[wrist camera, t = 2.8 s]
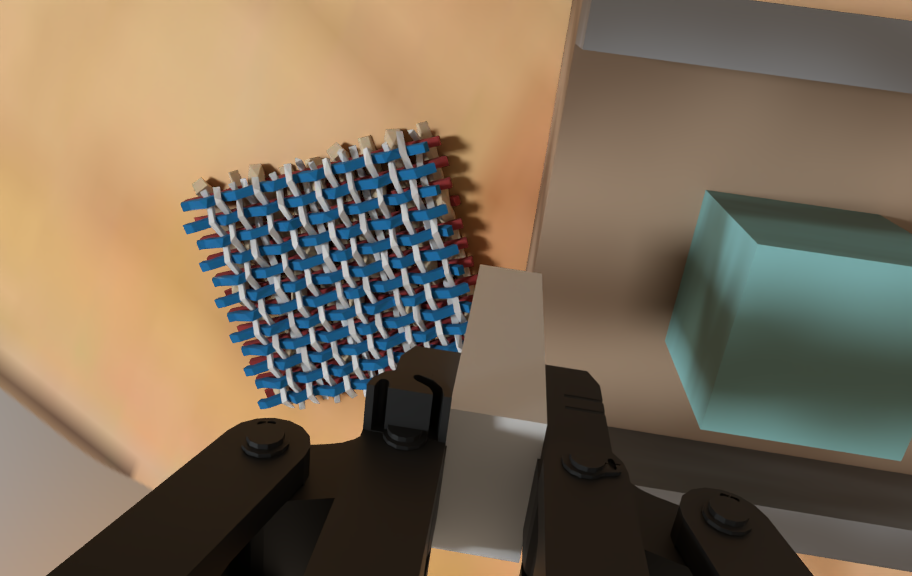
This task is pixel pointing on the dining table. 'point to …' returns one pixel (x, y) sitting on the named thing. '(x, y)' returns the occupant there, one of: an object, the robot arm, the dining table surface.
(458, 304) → the woven mat
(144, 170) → the dining table surface
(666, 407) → the track
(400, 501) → the robot arm
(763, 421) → the block
